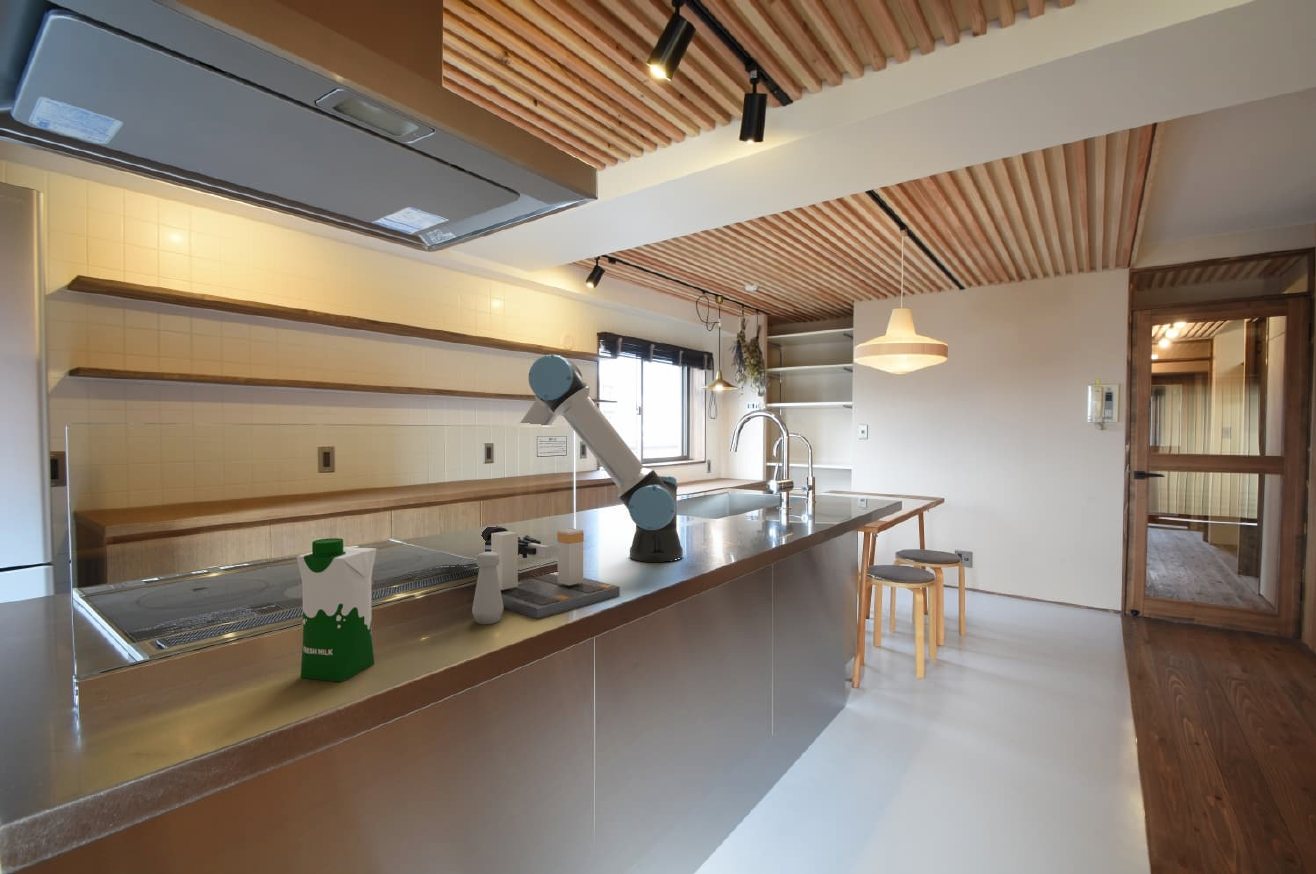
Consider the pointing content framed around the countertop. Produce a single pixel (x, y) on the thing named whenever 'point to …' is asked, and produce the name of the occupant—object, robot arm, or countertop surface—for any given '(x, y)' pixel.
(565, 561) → the handle
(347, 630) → the milk carton
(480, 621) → the salt shaker
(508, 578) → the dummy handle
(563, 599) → the panel
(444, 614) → the countertop surface
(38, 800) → the countertop surface
